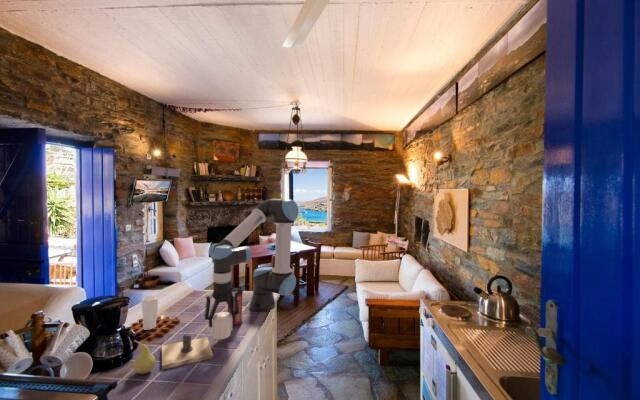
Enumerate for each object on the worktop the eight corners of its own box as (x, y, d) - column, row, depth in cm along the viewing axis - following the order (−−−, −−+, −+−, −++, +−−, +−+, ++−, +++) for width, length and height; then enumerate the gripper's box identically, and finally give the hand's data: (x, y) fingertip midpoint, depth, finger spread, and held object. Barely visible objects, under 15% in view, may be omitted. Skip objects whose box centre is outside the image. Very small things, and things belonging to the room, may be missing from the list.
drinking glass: (159, 329, 140) (160, 298, 140) (143, 333, 135) (144, 301, 135) (154, 324, 145) (155, 294, 145) (139, 328, 140) (140, 297, 140)
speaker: (237, 319, 154) (238, 285, 154) (245, 324, 149) (246, 289, 149) (223, 323, 149) (225, 288, 149) (231, 328, 143) (232, 292, 143)
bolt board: (206, 340, 131) (207, 323, 131) (212, 358, 117) (213, 339, 117) (161, 349, 122) (162, 331, 122) (162, 369, 108) (162, 349, 108)
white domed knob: (228, 330, 135) (228, 309, 134) (231, 337, 128) (232, 315, 128) (212, 333, 131) (212, 312, 131) (214, 340, 125) (214, 318, 124)
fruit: (149, 378, 103) (150, 344, 103) (127, 378, 103) (128, 344, 103) (158, 367, 110) (159, 335, 110) (137, 367, 109) (138, 335, 109)
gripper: (242, 275, 137) (242, 323, 138) (197, 281, 127) (196, 332, 128) (247, 280, 130) (246, 330, 131) (199, 286, 121) (198, 340, 121)
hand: (221, 331), depth 130 cm, fingers closed on white domed knob, 7 cm apart
